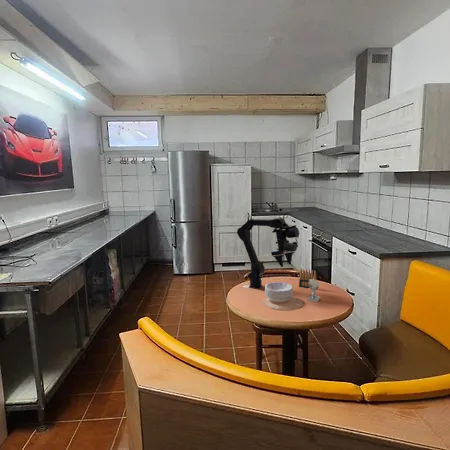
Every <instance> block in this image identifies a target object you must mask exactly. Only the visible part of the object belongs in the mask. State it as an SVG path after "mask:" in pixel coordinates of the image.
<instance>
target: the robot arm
mask: <svg viewBox="0 0 450 450" xmlns="http://www.w3.org/2000/svg"><path fill="white" fill-rule="evenodd" d="M254 226H255V227H256V226H257V227H270V228H272V229H273V230H272V232H271V233H272V234H273V233H275V235H276V242H275V244H277V249H274V250H272V251H271V252H270V254H271V256H272V257H273V258H274V259H275V260H276V261H277V263H278V265H279V266H280V268H283V267H284V261H283V260H284V256H285V259H286V261H287V263H288V265H292V260H293V255H294V254H295V252H296V251H297V249H298V248H299V244H298V241H293V242H290V240H289V239H291V238H292V239H294V238H298V237H299V236H300V231H299V228H298V227H297V225H296V224H294V225H291V226H290V225H289V224H288V223H287V222H286V221H285V219H284V218H283V217H276V218H272V219H264V218H263V219H261V218H259V219H257V218H250V219H248V220H247V221H246V222H245V223H244V224H243V225H241V226H240V227H239V228H238V229H237V231H236V234H237V236H238V238H239V239H240V240H241V242H243V245H244V247H245V250H246V253H247V256H248V258H249V261H250V271H251V272H250V273H249V274H248V279H249V286H248V288H251V289H258V290H259V289H260V288H261V287H263V284H262V283H263V282H262V281H263V280H262V276H263V274H264V273H265V270H266V269H265V268H266V267H265V265H264V262H263V261H260V260H259V259H258V258H259V257H258V255H257V254H256V250H255V248H254V245H253V243H252V240H251V236H252V235H251V230H252V229H253V228H254Z"/></svg>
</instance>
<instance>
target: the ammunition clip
mask: <svg viewBox="0 0 450 450" xmlns="http://www.w3.org/2000/svg"><path fill="white" fill-rule="evenodd" d="M311 279H316V280H317V272H316V270H313V269H311V270H310V269H307V268H306V269H305V268H303V269H302V268H300V270H299V281H298V282H299V283H298V288H302V287H303V289H308V288H309V287H308V282H309V280H311Z"/></svg>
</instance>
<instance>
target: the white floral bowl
mask: <svg viewBox="0 0 450 450" xmlns="http://www.w3.org/2000/svg"><path fill="white" fill-rule="evenodd" d="M293 292H294V291H293V286H292V284H290V283H287V282H282V281H279V282H277V281H276V282H275V281H274V282H269V283H266V284H265V286H264V295H265V297H269V299H270V300H271V301H273V302H278V303H281V302H286V301H287V300H288V299H289V298H290V297H292V296H293V294H294V293H293Z"/></svg>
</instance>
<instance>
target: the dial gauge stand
mask: <svg viewBox="0 0 450 450" xmlns="http://www.w3.org/2000/svg"><path fill="white" fill-rule="evenodd" d="M308 287H309V288H310V289H309V290H312V291H311V292H312V293H311V294H309V295H308V296H307V297H306V301H310V302H314V303H315V302H316V303H318V302H319V301H320V299H321V296H319V295H316V290H318V288H320V283H319V281H318V280H317V278H316V279H314V278H313V279H311V280H309V282H308Z"/></svg>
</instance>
